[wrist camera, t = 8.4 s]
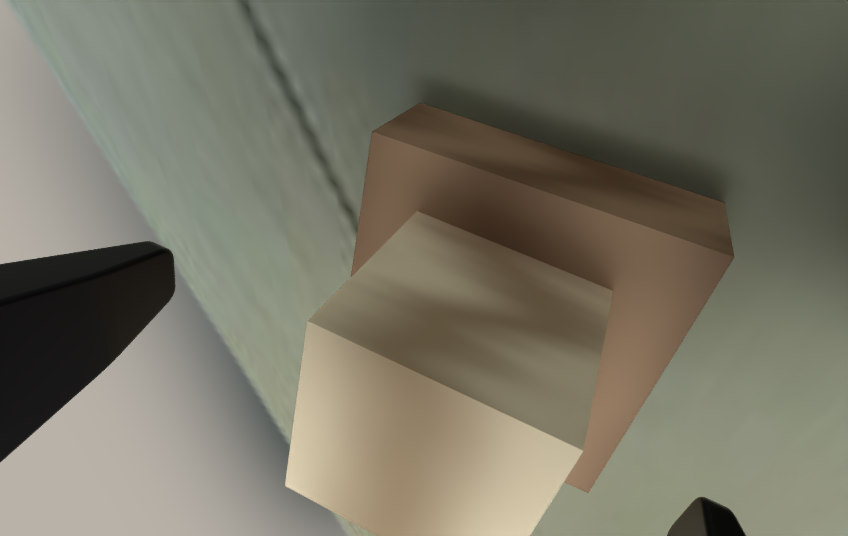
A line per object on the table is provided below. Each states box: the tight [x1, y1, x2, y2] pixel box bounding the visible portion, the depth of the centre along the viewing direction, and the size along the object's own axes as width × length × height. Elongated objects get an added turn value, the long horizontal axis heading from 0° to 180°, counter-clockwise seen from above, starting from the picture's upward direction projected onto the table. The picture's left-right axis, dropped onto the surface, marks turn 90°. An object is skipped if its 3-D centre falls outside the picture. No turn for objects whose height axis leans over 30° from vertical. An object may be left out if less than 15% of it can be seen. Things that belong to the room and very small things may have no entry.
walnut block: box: [351, 103, 734, 493], centre depth 19 cm, size 10×10×4 cm
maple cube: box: [285, 211, 613, 536], centre depth 15 cm, size 6×6×6 cm
